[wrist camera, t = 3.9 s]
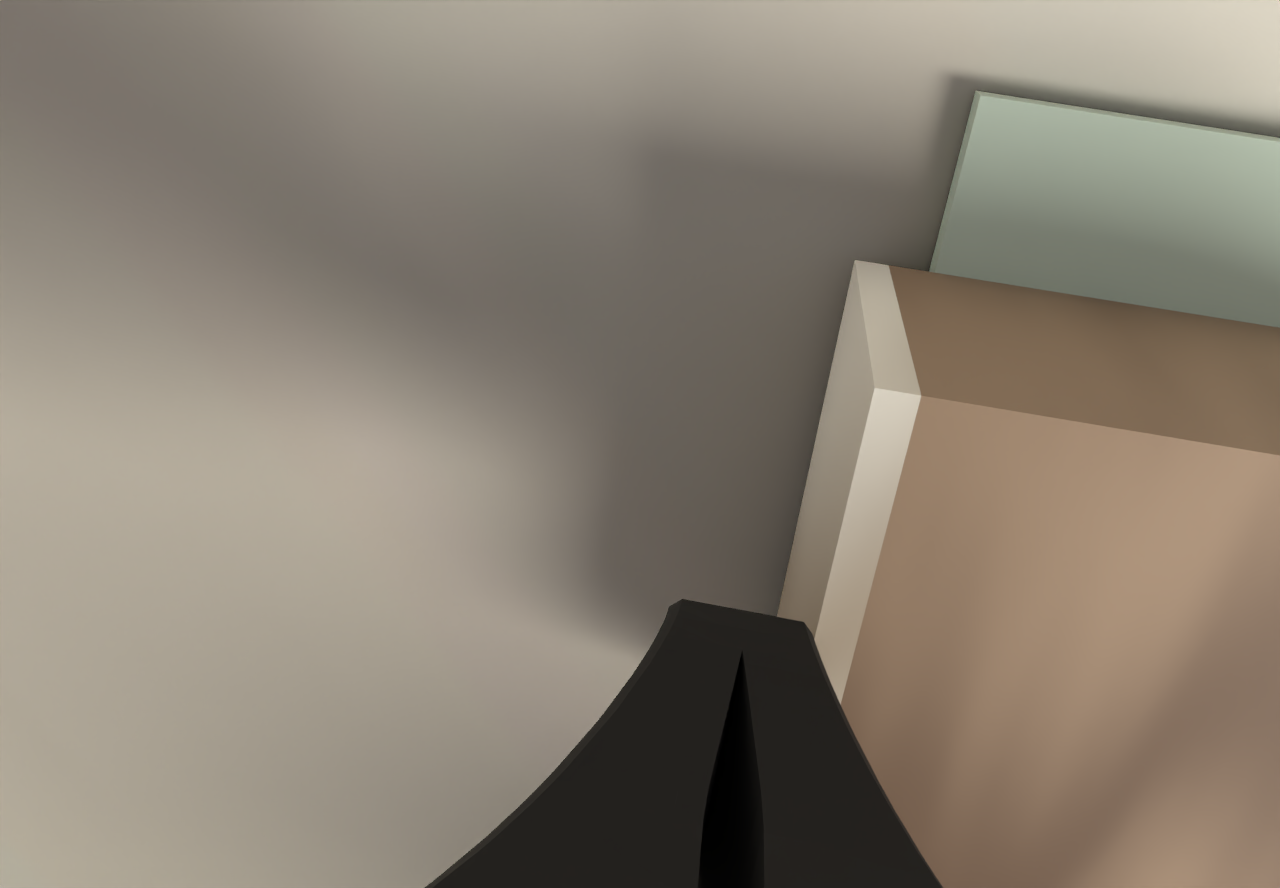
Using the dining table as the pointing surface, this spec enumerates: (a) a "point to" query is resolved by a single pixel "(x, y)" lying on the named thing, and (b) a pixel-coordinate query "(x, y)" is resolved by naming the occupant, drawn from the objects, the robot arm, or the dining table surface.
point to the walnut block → (1052, 580)
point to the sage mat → (1116, 209)
